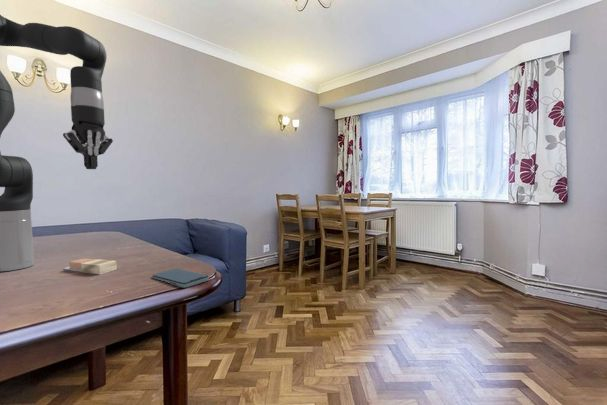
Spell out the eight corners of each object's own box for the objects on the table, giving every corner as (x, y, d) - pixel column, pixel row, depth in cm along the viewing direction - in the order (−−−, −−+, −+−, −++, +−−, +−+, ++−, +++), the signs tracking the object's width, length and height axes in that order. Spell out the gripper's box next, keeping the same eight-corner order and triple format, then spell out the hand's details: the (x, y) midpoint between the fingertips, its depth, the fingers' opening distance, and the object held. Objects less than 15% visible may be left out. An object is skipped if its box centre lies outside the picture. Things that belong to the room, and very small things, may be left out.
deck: (81, 272, 82) (81, 263, 82) (99, 267, 87) (98, 259, 87) (100, 274, 80) (99, 265, 80) (116, 269, 85) (116, 260, 85)
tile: (69, 268, 85) (69, 261, 85) (83, 264, 89) (83, 258, 88) (82, 270, 83) (81, 263, 83) (95, 266, 87) (95, 259, 87)
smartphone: (176, 267, 83) (210, 275, 75) (177, 273, 83) (211, 281, 75) (150, 274, 77) (183, 283, 68) (150, 281, 77) (184, 290, 69)
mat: (63, 269, 85) (63, 268, 85) (78, 265, 89) (78, 264, 89) (83, 271, 83) (83, 270, 83) (97, 267, 87) (97, 266, 87)
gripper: (100, 113, 90) (103, 170, 91) (52, 102, 77) (56, 168, 78) (119, 111, 88) (121, 169, 89) (72, 99, 75) (76, 167, 76)
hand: (91, 169), depth 84 cm, fingers closed
